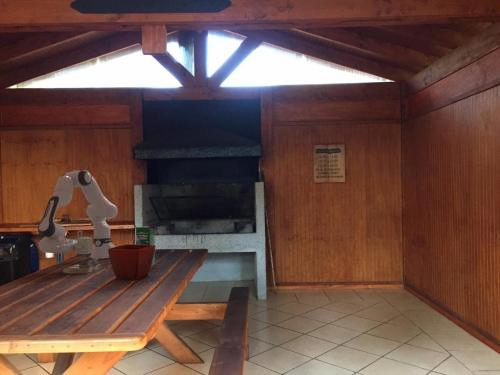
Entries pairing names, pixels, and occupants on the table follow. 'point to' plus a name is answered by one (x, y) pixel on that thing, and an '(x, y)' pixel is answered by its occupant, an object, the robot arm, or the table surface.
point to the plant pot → (131, 260)
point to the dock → (84, 266)
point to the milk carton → (145, 237)
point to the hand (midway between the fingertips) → (85, 246)
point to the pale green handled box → (86, 243)
